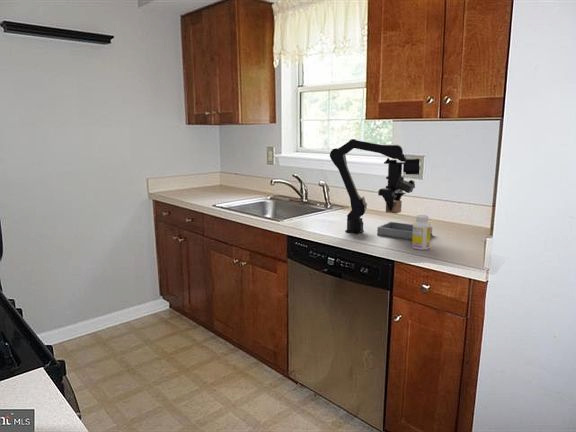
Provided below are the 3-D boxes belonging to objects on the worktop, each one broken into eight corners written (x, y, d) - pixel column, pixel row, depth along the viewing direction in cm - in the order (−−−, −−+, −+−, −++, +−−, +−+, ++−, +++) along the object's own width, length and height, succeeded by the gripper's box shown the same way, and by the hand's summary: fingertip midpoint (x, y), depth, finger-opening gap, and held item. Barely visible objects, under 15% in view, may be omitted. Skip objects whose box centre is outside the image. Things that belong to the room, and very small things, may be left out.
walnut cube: (385, 212, 190) (386, 201, 189) (390, 210, 194) (391, 199, 193) (396, 213, 187) (396, 202, 186) (401, 211, 191) (401, 200, 190)
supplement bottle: (426, 245, 174) (427, 214, 171) (432, 250, 167) (433, 217, 165) (409, 245, 174) (411, 214, 171) (414, 250, 167) (416, 218, 164)
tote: (377, 234, 191) (377, 227, 190) (390, 228, 202) (390, 221, 201) (420, 241, 179) (421, 233, 179) (431, 234, 190) (432, 227, 189)
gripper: (403, 177, 175) (401, 215, 178) (421, 173, 189) (419, 208, 192) (378, 175, 182) (377, 212, 185) (397, 171, 196) (395, 205, 199)
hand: (393, 209), depth 190 cm, fingers closed on walnut cube, 5 cm apart
